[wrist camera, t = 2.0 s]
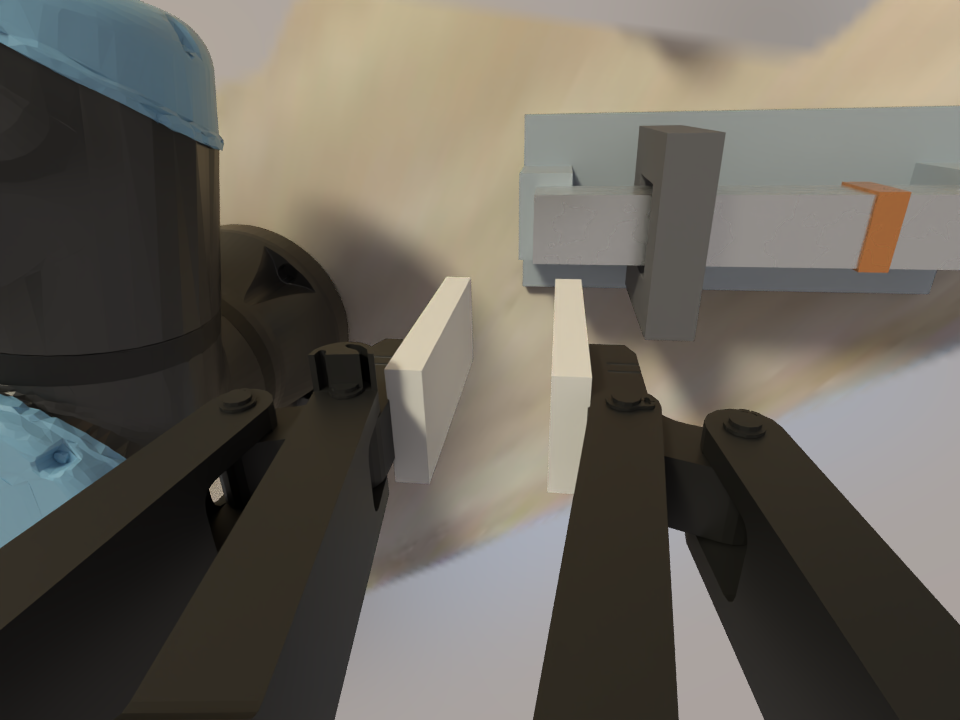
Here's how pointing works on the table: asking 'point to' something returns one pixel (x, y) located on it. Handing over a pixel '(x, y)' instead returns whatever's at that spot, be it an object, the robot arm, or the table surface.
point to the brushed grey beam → (762, 226)
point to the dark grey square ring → (675, 227)
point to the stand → (748, 175)
